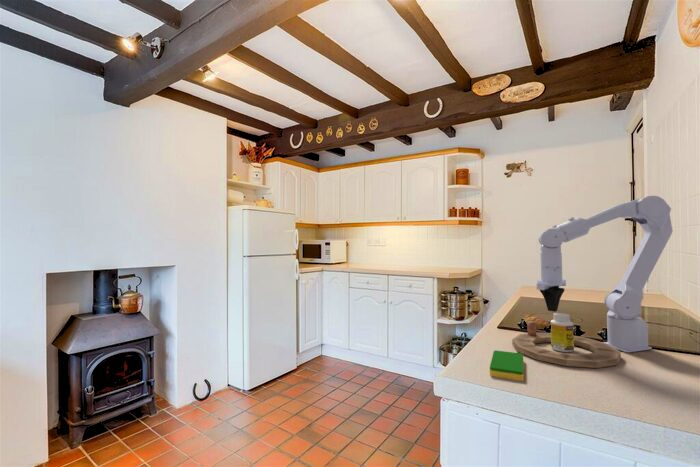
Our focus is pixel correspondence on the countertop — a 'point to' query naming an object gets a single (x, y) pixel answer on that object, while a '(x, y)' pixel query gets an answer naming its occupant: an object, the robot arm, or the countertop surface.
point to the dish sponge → (507, 365)
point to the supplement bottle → (562, 333)
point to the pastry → (537, 321)
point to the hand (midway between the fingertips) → (552, 310)
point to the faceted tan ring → (599, 358)
